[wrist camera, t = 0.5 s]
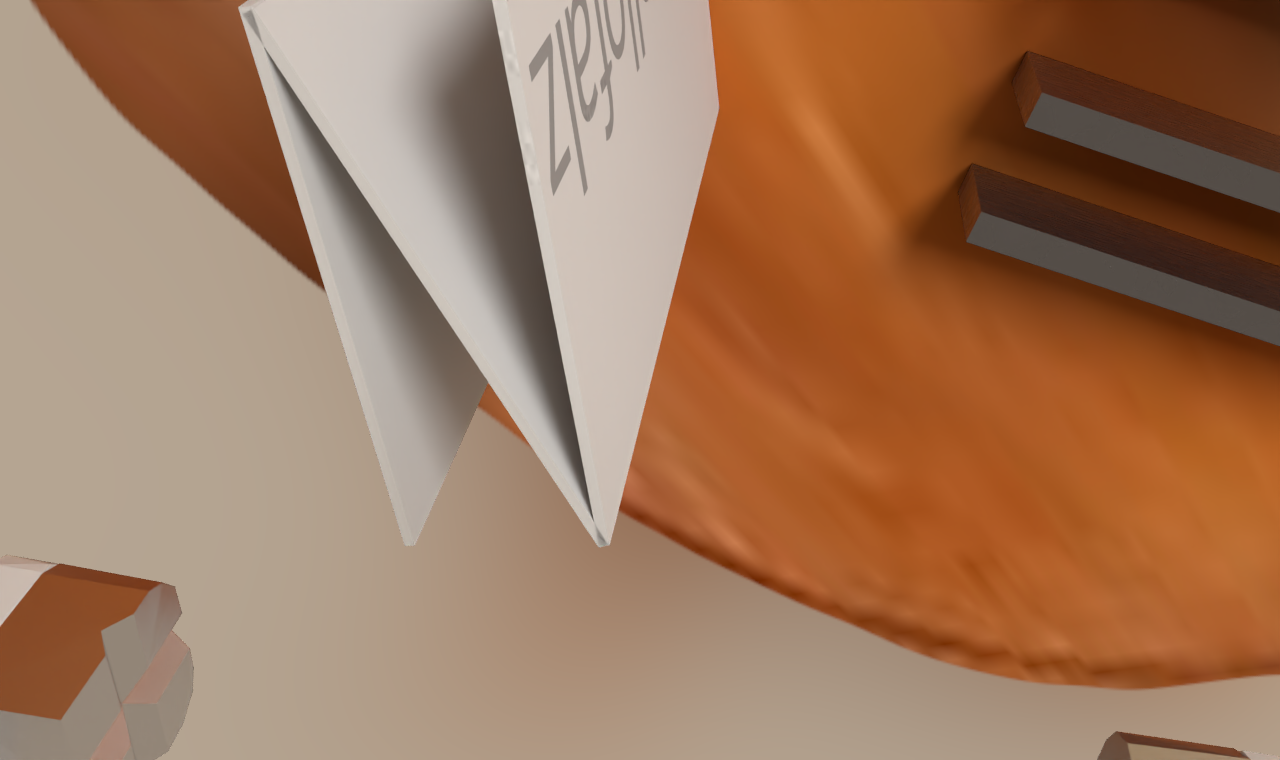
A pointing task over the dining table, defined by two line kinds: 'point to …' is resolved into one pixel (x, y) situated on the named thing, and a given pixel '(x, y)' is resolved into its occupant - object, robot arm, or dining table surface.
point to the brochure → (495, 214)
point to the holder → (1116, 242)
